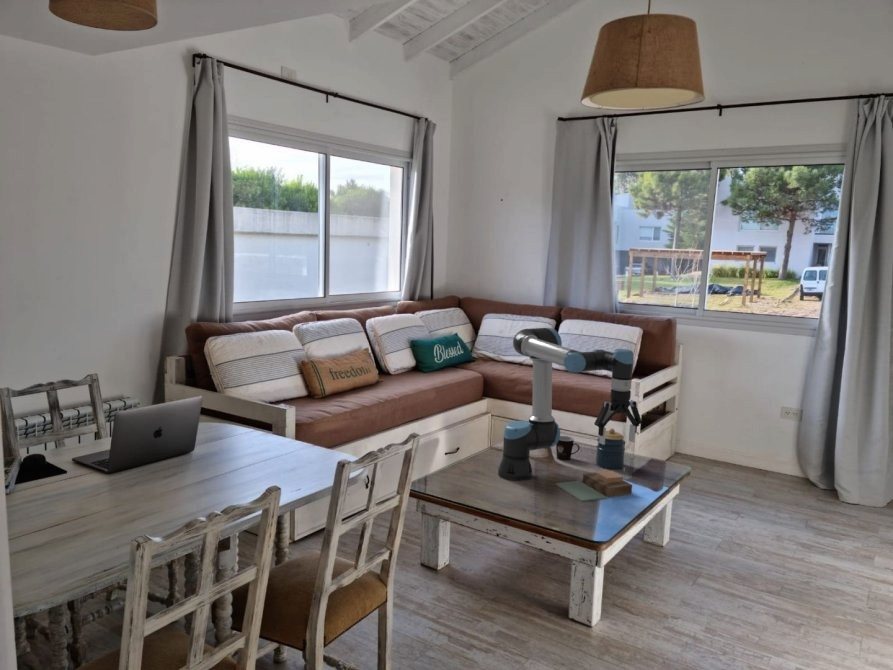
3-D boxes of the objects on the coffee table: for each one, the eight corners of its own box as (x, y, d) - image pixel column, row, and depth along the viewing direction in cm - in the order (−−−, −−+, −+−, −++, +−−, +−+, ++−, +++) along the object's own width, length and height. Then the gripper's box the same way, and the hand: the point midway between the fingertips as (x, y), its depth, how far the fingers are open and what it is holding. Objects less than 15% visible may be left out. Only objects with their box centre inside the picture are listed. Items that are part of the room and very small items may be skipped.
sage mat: (555, 484, 294) (555, 483, 294) (579, 481, 298) (579, 480, 298) (581, 501, 275) (581, 500, 275) (606, 498, 280) (606, 496, 280)
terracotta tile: (595, 476, 294) (596, 472, 294) (611, 475, 297) (611, 470, 297) (606, 483, 287) (607, 478, 286) (622, 481, 290) (623, 476, 289)
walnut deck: (582, 482, 298) (583, 473, 297) (605, 479, 302) (606, 471, 302) (607, 497, 281) (607, 487, 281) (631, 494, 286) (632, 485, 285)
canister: (591, 466, 321) (594, 429, 318) (599, 459, 332) (602, 423, 330) (619, 471, 315) (622, 434, 312) (626, 464, 326) (629, 427, 324)
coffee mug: (550, 456, 332) (552, 436, 331) (565, 455, 336) (567, 435, 335) (564, 464, 322) (566, 443, 321) (579, 462, 326) (581, 441, 324)
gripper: (598, 392, 258) (594, 447, 261) (653, 390, 267) (649, 443, 270) (587, 388, 265) (584, 441, 268) (642, 386, 274) (637, 437, 277)
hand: (616, 442), depth 269 cm, fingers open, 13 cm apart
